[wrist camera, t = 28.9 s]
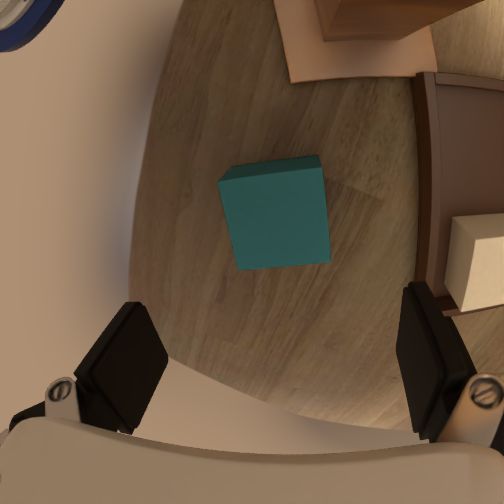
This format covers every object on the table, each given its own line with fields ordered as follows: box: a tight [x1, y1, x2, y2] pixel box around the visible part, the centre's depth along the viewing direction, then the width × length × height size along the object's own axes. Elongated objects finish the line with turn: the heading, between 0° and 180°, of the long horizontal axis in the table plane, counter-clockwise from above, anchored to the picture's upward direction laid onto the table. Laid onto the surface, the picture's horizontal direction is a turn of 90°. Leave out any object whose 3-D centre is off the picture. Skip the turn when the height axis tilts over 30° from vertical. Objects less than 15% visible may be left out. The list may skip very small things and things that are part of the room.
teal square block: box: [218, 155, 331, 270], centre depth 20 cm, size 6×6×4 cm
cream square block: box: [444, 213, 504, 312], centre depth 18 cm, size 6×6×4 cm
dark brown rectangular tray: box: [410, 71, 504, 317], centre depth 18 cm, size 12×19×2 cm, turn 11°
